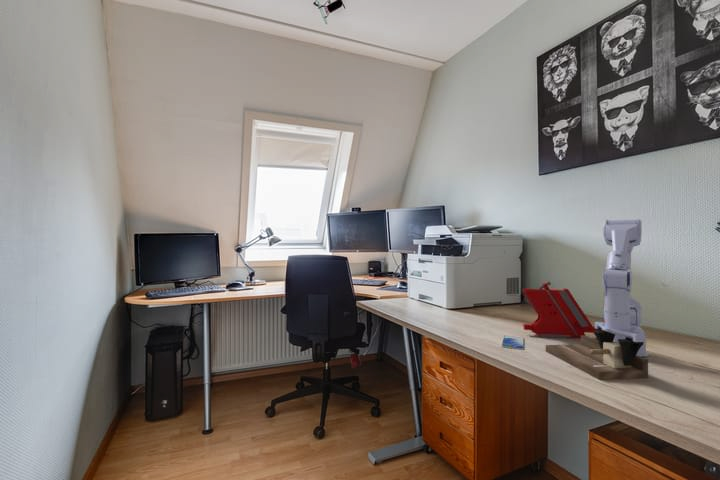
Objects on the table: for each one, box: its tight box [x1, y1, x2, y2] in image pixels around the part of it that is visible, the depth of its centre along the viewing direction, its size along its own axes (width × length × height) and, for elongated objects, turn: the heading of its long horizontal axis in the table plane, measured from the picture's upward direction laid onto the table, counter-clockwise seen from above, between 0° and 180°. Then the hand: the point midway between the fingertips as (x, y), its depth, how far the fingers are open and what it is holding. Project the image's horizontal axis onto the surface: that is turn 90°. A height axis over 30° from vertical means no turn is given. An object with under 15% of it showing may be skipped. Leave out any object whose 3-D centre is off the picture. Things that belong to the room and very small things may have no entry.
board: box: [545, 334, 649, 380], centre depth 107 cm, size 14×24×5 cm, turn 4°
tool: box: [522, 281, 598, 339], centre depth 137 cm, size 27×6×27 cm, turn 86°
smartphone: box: [501, 335, 525, 351], centre depth 128 cm, size 7×1×15 cm
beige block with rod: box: [590, 342, 631, 368], centre depth 98 cm, size 10×4×6 cm, turn 94°
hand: (617, 360), depth 99 cm, fingers open, 7 cm apart
